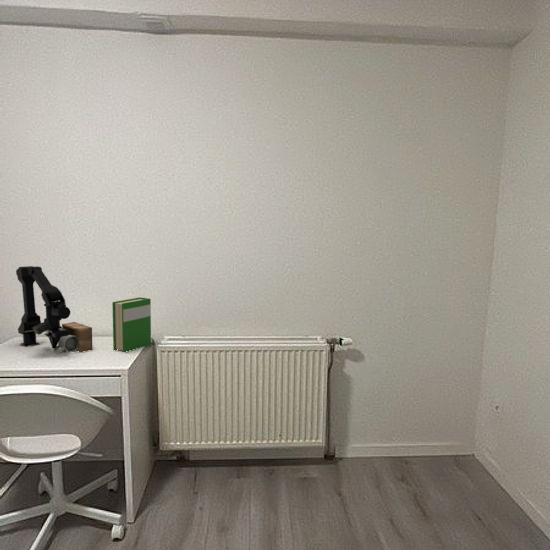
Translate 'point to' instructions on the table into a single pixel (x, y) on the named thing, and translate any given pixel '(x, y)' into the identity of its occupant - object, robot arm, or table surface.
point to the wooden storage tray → (80, 335)
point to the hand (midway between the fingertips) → (54, 348)
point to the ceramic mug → (67, 344)
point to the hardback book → (131, 323)
